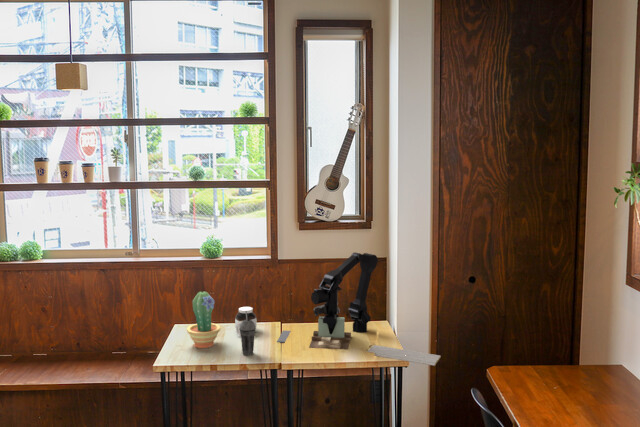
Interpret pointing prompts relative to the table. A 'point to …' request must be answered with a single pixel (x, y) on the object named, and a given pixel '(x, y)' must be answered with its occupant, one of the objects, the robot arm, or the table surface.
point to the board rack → (343, 341)
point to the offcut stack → (329, 343)
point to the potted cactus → (203, 321)
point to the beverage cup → (247, 336)
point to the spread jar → (244, 317)
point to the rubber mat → (283, 336)
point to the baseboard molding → (400, 355)
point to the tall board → (337, 331)
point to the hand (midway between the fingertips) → (331, 332)
